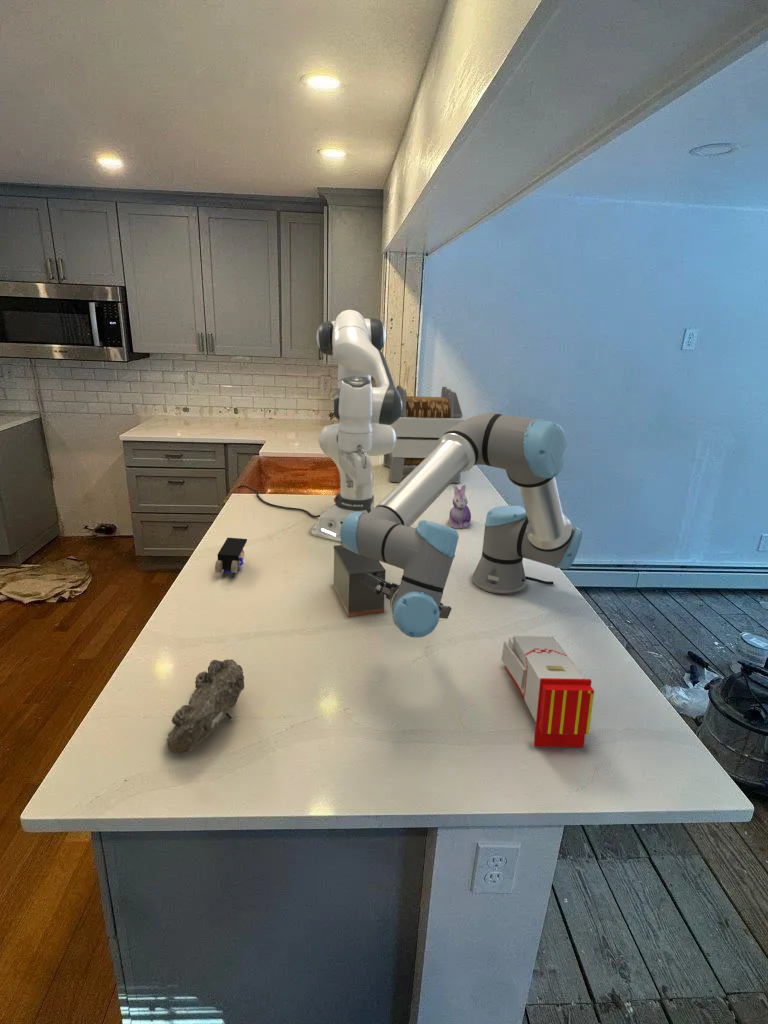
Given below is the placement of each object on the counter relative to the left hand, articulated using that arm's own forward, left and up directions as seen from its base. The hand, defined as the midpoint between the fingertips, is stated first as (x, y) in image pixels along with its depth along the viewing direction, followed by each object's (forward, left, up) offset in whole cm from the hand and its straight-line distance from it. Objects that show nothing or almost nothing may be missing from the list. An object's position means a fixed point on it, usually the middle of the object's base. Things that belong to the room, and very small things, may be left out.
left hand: (353, 492), depth 152 cm
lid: (+4, -6, -17) cm, 18 cm away
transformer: (-8, +123, -28) cm, 127 cm away
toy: (+52, -34, -28) cm, 69 cm away
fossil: (-7, -60, -28) cm, 67 cm away
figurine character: (-36, -3, -28) cm, 46 cm away
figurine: (+21, +61, -28) cm, 70 cm away
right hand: (+21, -25, -13) cm, 35 cm away
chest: (+4, -6, -28) cm, 29 cm away
